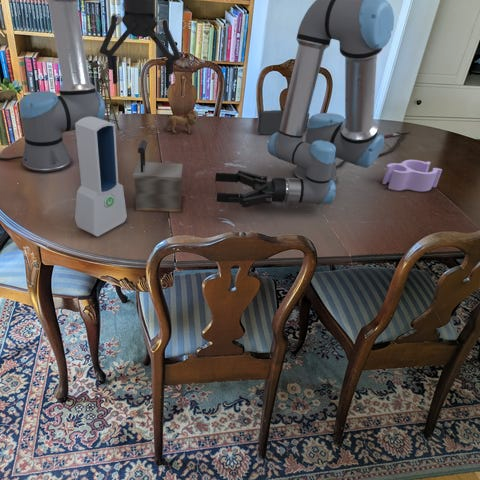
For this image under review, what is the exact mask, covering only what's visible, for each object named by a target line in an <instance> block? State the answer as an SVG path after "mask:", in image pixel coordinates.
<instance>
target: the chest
mask: <svg viewBox="0 0 480 480" xmlns="http://www.w3.org/2000/svg"><path fill="white" fill-rule="evenodd" d="M183 168H184V167H183ZM183 168H182V172H183ZM134 198H135V199H134V201H135V202H134V203H135V204H134V205H135V210H136V211H152V212H153V211H155V212H173V213H174V212H176V213H181V211H182V199H183V178H182V179H181V180H168V179H149V178H134Z"/></svg>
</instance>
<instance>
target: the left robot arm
mask: <svg viewBox="0 0 480 480" xmlns="http://www.w3.org/2000/svg"><path fill="white" fill-rule="evenodd" d="M45 1H46V2H47V4H48V11H49V16H50V20H51V21H50V22H51V27H52V33H53V38H54V44H55V47H56V54H57V59H58V66H59V70H60V71H59V72H60V76H61V82H62V84H61V86H59V88H58V92H59V95H58V94H57V93H56V92H54V91H49V90H46V91H43V90H41V91H33V92H31V93H28V94H26V95H24V96H23V97H21V99H20V100H19V103H18V104H19V116H20V119H21V125H22V132H23V136H24V148H23V153H22V155H21V156H13V157H0V161H13V160H19V159H22V160H21V161H22V166H23V168H24V169H25V170H27V171H29V172H33V173H39V174H46V173H56V172H61V171H63V170H66V169H67V168H69V167H70V166H71V163H72V159H71V155H70V153H69V151H68V150H67V149H68V148H67V147H66V145H65V143H64V140H63V133H66V132H73V131H76V128H75V123H76V122H78V121H79V120H80V119H82V118H85V117H90V116H92V117H96V118H99V119H102V120H105V119H104V118H105V116H106V113H105V112H106V108H105V107H106V104H105V101H104V100H105V99H103V98H104V97H102V96H103V94H102V95H101V92H100V93H99V92H98V90H96V86H95V85H94V84H93V83H91V81H90V75H89V68H88V63H87V56H86V50H85V44H84V37H83V31H82V26H81V19H80V13H79V7H78V1H79V0H45ZM121 23H122V24H123V25H124V27H125V28H126V30H125V31H124V32H123V33H122V35H121V36H120V37H119V38H118V40H117V41H116V42H115V43H114V44H113V45H112V47H111V48H110V49H108V47H109V45H110V42H111V41H112V38H113V36H114V33H115V31H116V29H117V26H119V25H121ZM157 26H159V28H160V29H161V30H162V31H163V34H164V35H165V38H166V41H167V43H168V44H169V47H170V49H171V51H170V50H169V49H168V47H167V45H165V43H164V42H163V40H162V39H161V38H160V37H159V35H158V33H157V32H156V31H155V28H156V27H157ZM169 27H170V26H169V20H168V18H164V19H157V17H156V0H123V16H121V15H117V13H113V14H112V15H111V16H110V25H109V28H108V29H107V32H106V35H105V37H104V39H103V42H102V44H101V46H100V48H99V53H100V54H101V55H103V54H104V56H105V57H106V56H107V57H106V59H107V58H108V60H107V62H108V63H107V64H108V68H109V69H108V68H107V69H108V70H109V71H110V70H111V71H112V72H111V73H112V84H113V85H116V84H118V82H119V81H118V62H117V61H118V60H117V55H115V53H116V51H117V50H118V49H119V48H120V46H121V45H122V44H123V43H124V42H125V41H126V39H127V38H128V37H129V36H130V35H131V36H133V37H135V38H137V37H141V38H149V37H150V39H151V40H152V41H153V42H154V43H155V45H156V46H157V47H158V49H159V50H160V51H161V53H162V54H163V55H164V57H165V58H166V60H165V85H164V87H165V88H166V89H169V86H170V75H173V74H174V63H175V61H179V60H180V59H181V57H182V56H181V52H180V50H179V48H178V46H177V44H176V41H175V39H174V36H173V34H172V32H171V30H170V28H169ZM171 52H172V53H171Z"/></svg>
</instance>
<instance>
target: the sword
mask: <svg viewBox="0 0 480 480" xmlns="http://www.w3.org/2000/svg"><path fill="white" fill-rule="evenodd" d="M400 132H401V131H396V132H395V133H390V134H386V135H383V136H384V139H385V138H390V137H394V136H401V135H403V134H405V133H400ZM409 133H411V131H410V132H408V133H407V134H409Z"/></svg>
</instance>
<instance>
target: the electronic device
mask: <svg viewBox="0 0 480 480" xmlns="http://www.w3.org/2000/svg"><path fill="white" fill-rule="evenodd" d="M75 128H76V130H75V138H76V147H77V155H78V167H79V176H80V184H81V185H80V186H79V187H78V189H77V191H76V199H75V200H76V201H75V214H74V215H75V217H74V221H75V223H76V226H77V227H78V228H79V229H81V230H83V231H84V232H87V233H89V234H91V235H93V236H95V237H96V238H97V237H100V236H102V235H104V234H105V233H107V232H109V231H111V230H112V229H114V228H116V227H118V226H120V225H122V224H123V223H125V221H126V219H127V218H128V214H127V213H128V212H127V207H126V199H125V191H124V185H122V183H120V182H119V169H118V168H119V167H118V151H117V132H116V131H117V130H116V123H115V124H114V122H111V121H110V122H108V120H106V119H104V120H102V119H99V118H96V117H92V116H90V117H85V118H82V119H80V120H79V121H78V122H76V123H75Z"/></svg>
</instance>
